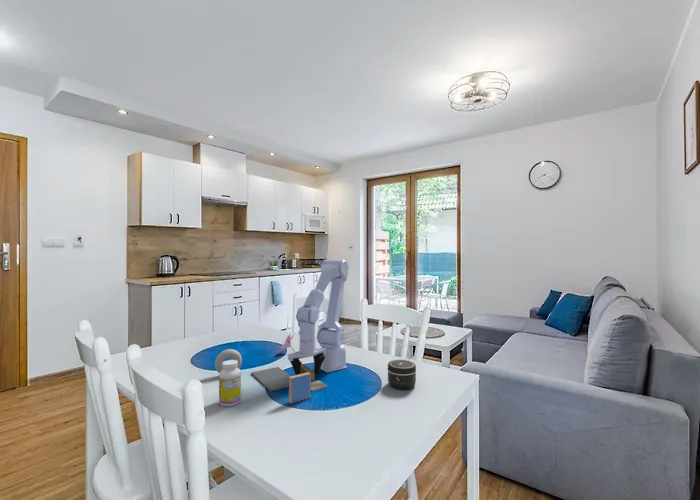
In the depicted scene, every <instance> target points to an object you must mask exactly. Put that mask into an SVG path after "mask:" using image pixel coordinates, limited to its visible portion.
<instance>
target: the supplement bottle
mask: <svg viewBox="0 0 700 500" xmlns="http://www.w3.org/2000/svg"><path fill="white" fill-rule="evenodd" d="M237 365H238V361H237V360H232V359H228V360H227V359H226V360H225V361H224V362H223V363H222V368H223V370H222V371H220V373H219V372H218V402H219V405H220V406H222V407H233V406H236V405H238V404H240V403H241V400H242V371H241V369H240V368H237Z"/></svg>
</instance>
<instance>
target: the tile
mask: <svg viewBox="0 0 700 500" xmlns="http://www.w3.org/2000/svg"><path fill="white" fill-rule="evenodd" d="M311 394H312V392H311V373H309V372H307V373H303V374H299V375H295V374H294V375H290V377H289V388H288V402H289V403H290V404H295V403H297V401H298V402H301V400H302V401H305V400H309V399H311V398H312V397H311V396H312V395H311ZM308 398H309V399H308ZM304 399H305V400H304ZM294 402H295V403H294Z"/></svg>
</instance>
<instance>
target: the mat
mask: <svg viewBox="0 0 700 500" xmlns="http://www.w3.org/2000/svg"><path fill="white" fill-rule="evenodd" d="M251 375H252V377H254V378H255V379H256V380H257V381H258V382H259V383H261V385H263V386H264V387H265V388H266V389H267V390H268V391H269V392H272V391H273V392H276V391H275V390H277V391H279V389H281V390H284V389H283V388H285V389H287V387H289V377H290V376H291V374H289V373H287V372H286V371H284V370H283V369H282V368H281V367H279V366H276V367H270V368H266V369H262V370H256V371H252V372H251Z"/></svg>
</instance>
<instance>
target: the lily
mask: <svg viewBox="0 0 700 500" xmlns="http://www.w3.org/2000/svg"><path fill="white" fill-rule="evenodd" d="M295 334H296V333H293V335H291V333H290V334H288V336H287V337H286V338H285V340H284V342H283V344H282V345H281V347H280V348H279V349H278V350H277V352H276V354H275V355H276V356H277V355H278V354H279V353H280V352H281V351H283V352H285V350H286V349H287V348H288V349H289V348H291V349H292V351H293V353H295V352H296V351H295V349H294V348H293V346H292V340H293V338H294V336H295Z"/></svg>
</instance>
